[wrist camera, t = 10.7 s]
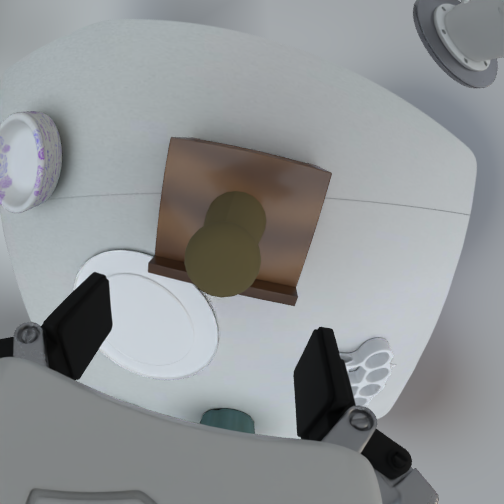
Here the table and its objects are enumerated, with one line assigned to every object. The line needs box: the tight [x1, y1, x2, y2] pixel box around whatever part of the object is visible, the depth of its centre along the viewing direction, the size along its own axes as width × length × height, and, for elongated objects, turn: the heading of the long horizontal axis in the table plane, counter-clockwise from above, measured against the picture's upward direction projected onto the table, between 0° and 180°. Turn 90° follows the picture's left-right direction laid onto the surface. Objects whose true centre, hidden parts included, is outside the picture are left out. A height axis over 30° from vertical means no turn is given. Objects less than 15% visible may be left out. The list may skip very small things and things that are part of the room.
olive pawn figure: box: [184, 191, 266, 297], centre depth 22 cm, size 6×6×11 cm
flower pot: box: [200, 409, 255, 434], centre depth 47 cm, size 16×16×16 cm
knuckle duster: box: [339, 338, 396, 407], centre depth 44 cm, size 3×18×15 cm
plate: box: [73, 250, 218, 380], centre depth 43 cm, size 28×28×1 cm
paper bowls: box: [0, 111, 62, 213], centre depth 28 cm, size 15×15×8 cm
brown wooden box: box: [148, 137, 332, 306], centre depth 30 cm, size 14×16×10 cm
